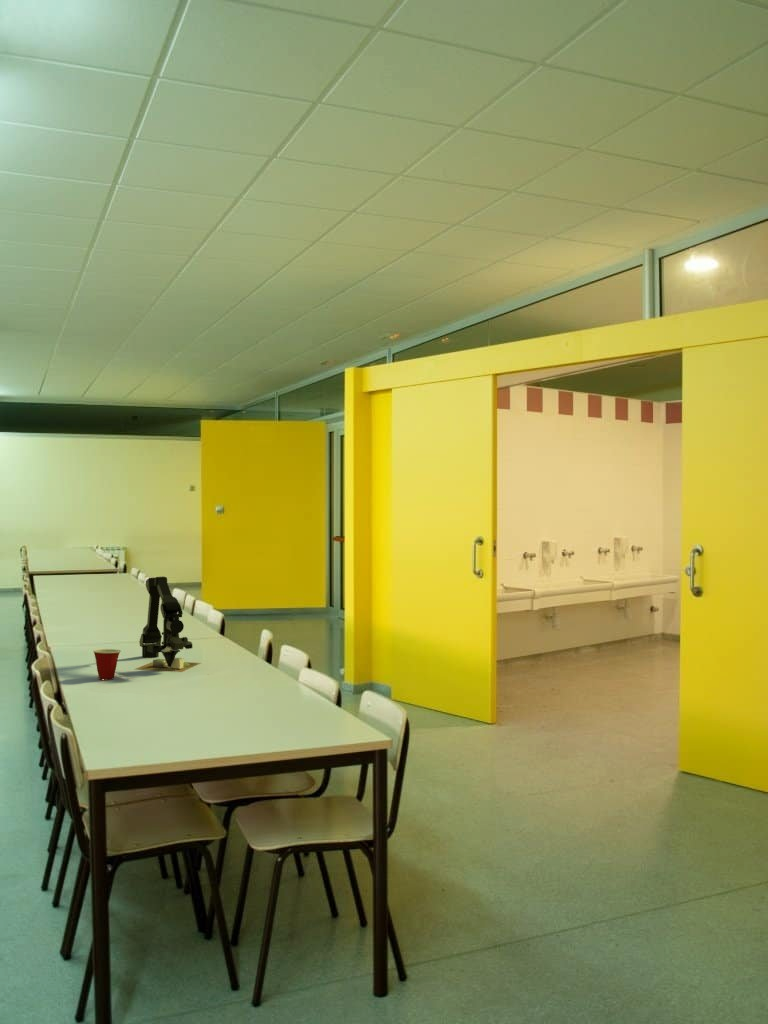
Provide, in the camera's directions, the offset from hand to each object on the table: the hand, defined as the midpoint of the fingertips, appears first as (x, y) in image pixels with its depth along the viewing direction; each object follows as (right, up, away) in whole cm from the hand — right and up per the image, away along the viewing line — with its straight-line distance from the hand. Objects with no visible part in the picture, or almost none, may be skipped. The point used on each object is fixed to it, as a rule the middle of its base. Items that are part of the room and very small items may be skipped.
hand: (169, 666), depth 366 cm
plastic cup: (-23, -3, -13) cm, 26 cm away
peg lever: (-2, -1, +5) cm, 5 cm away
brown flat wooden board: (-3, -2, +8) cm, 9 cm away
